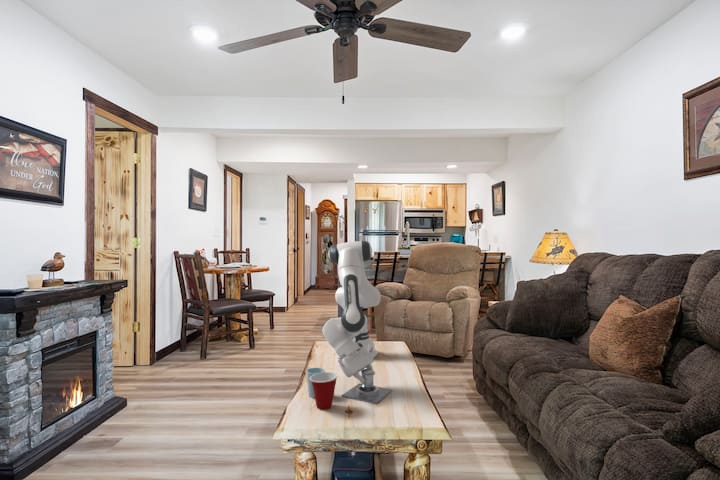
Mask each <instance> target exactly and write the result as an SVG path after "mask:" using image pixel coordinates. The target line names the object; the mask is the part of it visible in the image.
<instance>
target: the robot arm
mask: <svg viewBox="0 0 720 480" xmlns="http://www.w3.org/2000/svg"><path fill="white" fill-rule="evenodd" d="M327 256H328V258H329V260H330V263H331V264H332V265H335V266H336V265H337V274H338V280H339V284H340V287H338V288H337V290H336V291H335V293H334V294H335V295H334V297H335V298H334V299H335V302H336V303H337V304H338V305H339V306H340V307H341V308H342V310H343V311H342V314H341V316H340V317H331V318H329V319H328V320H326V321H325V323H324V324H323V326H322V329H321V333H322V335H323V337H324V338H325V340H326V341H327V343H328V344H329V346H331V348H333V349H334V351H335V354H336V355H337V356H338V357H337V362H338V363H339V364H338V365H339V367H340V368H341V370H342V372H343V374H344V375H345V376H346V378H351V377H354V379H356V380H358V381H359V382H360V384H362V383H363V382H364V381H365V378H364V377H362V374H360V373H361V371H362V370H363V369H372V370H373V371H374V374H373V376H375V375H376V372H375V370H374V368H373V365H372V364H373V363H374V358H375V357H376V356H378V354H379V353H380V352H379V350H376V348H375V346H376V345H375V342H374V341H373V340H372V339H371V338H370V335H371V334H372V330H368V326H369V325H368V322H369V321H368V320H369V319H368V317H367V316H366V314H365V313H364V311H363V309H362V308H361V307H363V308H370V307H371V308H372V307H376V306H378V305H379V304H380V302H381V299H382V295H381V292H380V290H379V289H378V288H376V287H375V286H374V285H372V284H371V283H370V281H369V280H368V278H367V276H366V275H367V274H366V270H365V265H364V263H366V262H368V261H370V260H371V259H372V256H373V248H372V245H371V244H370V242H369V241H368V240H367V241H366V240H360V241H357V240H356V241H349V242H342V243H338V244H337V243H335V244H332V245H330V247H329V248H328V253H327Z"/></svg>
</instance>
